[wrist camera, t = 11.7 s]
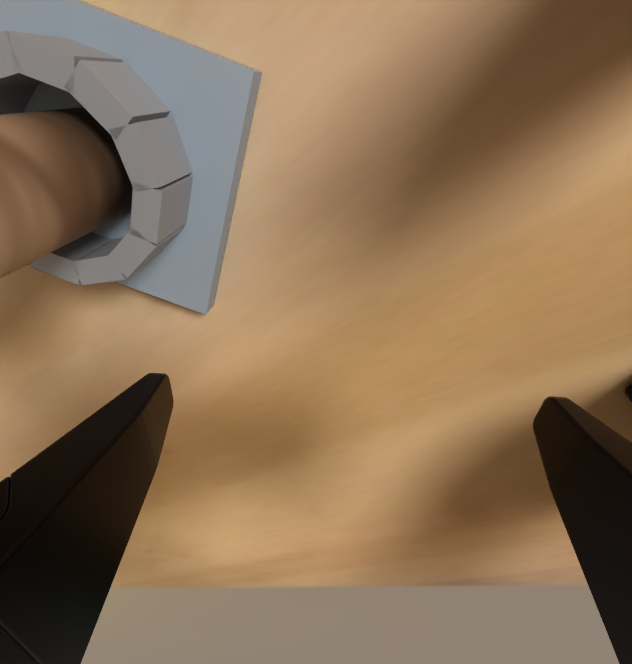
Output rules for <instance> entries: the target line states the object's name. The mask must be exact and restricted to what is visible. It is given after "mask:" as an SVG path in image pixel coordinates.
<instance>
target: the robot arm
mask: <svg viewBox="0 0 632 664" xmlns="http://www.w3.org/2000/svg"><path fill="white" fill-rule="evenodd" d="M625 394H626V396H627V397H628V398H629V400H630V401H631V402H632V385H630V386H628V387H627V388H626V390H625ZM172 409H173V395H172V390H171V385H170V380H169V377H168V375H166V374H162V373H149V374H147V375H146V376H144V377H143V378H141V379H140V380H139V381H137V382H136V383H135V384H133V385H132V386H131V387H129V388H128V389H126V390H125V391H124V392H122V393H121V394H120V395H118V396H117V397H116V398H114V399H113V400H111V401H110V402H109V403H107V404H106V405H105V406H103V407H102V408H101V409H99V410H98V411H96V412H95V413H94V414H92V415H91V416H90V417H88V418H87V419H86V420H84V421H83V422H81V423H80V424H79V425H77V426H76V427H75V428H73V429H72V430H71V431H69V432H68V433H66V434H65V435H64V436H62V437H61V438H60V439H58V440H57V441H56V442H54V443H53V444H52V445H50V446H49V447H47V448H46V449H45V450H43V451H42V452H41V453H39V454H38V455H37V456H35V457H34V458H32V459H31V460H30V461H28V462H27V463H26V464H24V465H23V466H22V467H20V468H19V469H17V470H16V471H15V472H13V473H12V474H11V476H10V477H6V478H5V479H4V480H2V481H1V482H0V664H81V661H82V658H83V656H84V654H85V651H86V648H87V646H88V643H89V641H90V638H91V636H92V633H93V630H94V628H95V625H96V623H97V620H98V617H99V615H100V613H101V610H102V607H103V605H104V602H105V600H106V597H107V595H108V592H109V590H110V587H111V584H112V582H113V579H114V577H115V574H116V572H117V569H118V567H119V564H120V561H121V559H122V556H123V554H124V551H125V549H126V546H127V543H128V541H129V538H130V536H131V533H132V531H133V528H134V526H135V523H136V520H137V518H138V515H139V513H140V510H141V508H142V505H143V503H144V500H145V497H146V495H147V492H148V490H149V487H150V485H151V482H152V479H153V477H154V474H155V471H156V469H157V466H158V462H159V459H160V455H161V451H162V447H163V443H164V440H165V436H166V432H167V428H168V424H169V420H170V417H171V413H172ZM533 430H534V434H535V437H536V441H537V444H538V448H539V451H540V455H541V459H542V462H543V466H544V469H545V473H546V477H547V480H548V483H549V486H550V489H551V492H552V495H553V497H554V500H555V503H556V505H557V508H558V510H559V513H560V515H561V518H562V520H563V523H564V525H565V528H566V530H567V533H568V535H569V538H570V540H571V543H572V545H573V548H574V550H575V553H576V555H577V558H578V560H579V563H580V565H581V568H582V570H583V573H584V575H585V578H586V580H587V583H588V585H589V588H590V590H591V593H592V595H593V598H594V600H595V603H596V605H597V608H598V610H599V613H600V615H601V618H602V621H603V623H604V625H605V628H606V631H607V633H608V636H609V638H610V640H611V643H612V645H613V648H614V651H615V653H616V656H617V658H618V661H619V663H620V664H632V443H631V442H630V441H628V440H627V439H625V438H624V437H623V436H621V435H620V434H618V433H617V432H615V431H614V430H612V429H611V428H610V427H608V426H607V425H605V424H604V423H602V422H601V421H599V420H598V419H597V418H595V417H594V416H592V415H591V414H589V413H588V412H587V411H585V410H584V409H582V408H581V407H579V406H578V405H576V404H575V403H574V402H572V401H571V400H569V399H567V398H564V397H548V398H546V399H545V400H544V402H543V404H542V406H541V408H540V409H539V411H538V413H537V415H536V417H535V418H534V422H533Z"/></svg>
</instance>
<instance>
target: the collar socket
mask: <svg viewBox="0 0 632 664" xmlns="http://www.w3.org/2000/svg"><path fill="white" fill-rule="evenodd" d="M261 74H262V72H260V71H258V70H255V69H252V68H250V67H247V66H245V65H242V64H240V63H237V62H235V61H232V60H230V59H227V58H224V57H222V56H219V55H217V54H214V53H212V52H209V51H207V50H204V49H202V48H199V47H196V46H194V45H191V44H189V43H186V42H184V41H181V40H179V39H176V38H174V37H171V36H169V35H166V34H163V33H161V32H158V31H156V30H153V29H151V28H148V27H146V26H143V25H141V24H138V23H135V22H133V21H130V20H128V19H125V18H123V17H120V16H118V15H115V14H113V13H110V12H107V11H105V10H102V9H100V8H97V7H95V6H92V5H90V4H87V3H85V2H82V1H79V0H0V115H2V114H13V113H24V112H34V111H45V110H56V109H67V108H82V107H83V108H85V109H86V110H87V111H88V112H89V113H90V114H91V115H92V116H93V117H94V118H95V119H96V120H97V121H98V122H99V123H100V124H101V125H102V126H103V127H104V128H105V129H106V130H107V131H108V133H109V134H110V135H111V136H112V138H113V140H114V143H115V145H116V148H117V150H118V152H119V155H120V157H121V160H122V162H123V164H124V167H125V169H126V171H127V174H128V176H129V179H130V181H131V183H132V186H133V193H132V209H131V212H129V213H127V214H125V215H123V216H121V217H120V218H118V219H116V220H114V221H112V222H110V223H108V224H106V225H104V226H102V227H100V228H98V229H96V230H94V231H92V232H90V233H88V234H86V235H84V236H82V237H80V238H78V239H76V240H74V241H72V242H70V243H68V244H66V245H64V246H62V247H60V248H59V249H57V250H55V251H53V252H51V253H49V254H47V255H45V256H43V257H41V258H39V259H37V260H35V261H33V262H31V263H29V264H31V268H33V269H36V270H39V271H41V272H44V273H47V274H50V275H52V276H55V277H58V278H61V279H63V280H66V281H69V282H72V283H74V284H77V285H79V284H82V285H90V284H97V283H104V282H111V281H114V282H117V283H120V284H123V285H125V286H128V287H131V288H134V289H136V290H139V291H142V292H145V293H147V294H150V295H153V296H156V297H158V298H161V299H164V300H167V301H169V302H172V303H175V304H178V305H180V306H183V307H186V308H189V309H191V310H194V311H197V312H200V313H202V314H205V315H206V314H207V313H208V311H209V310H210V309H211V307H212V306H213V305H214V301H215V296H216V291H217V286H218V281H219V277H220V272H221V267H222V262H223V257H224V253H225V248H226V243H227V238H228V233H229V229H230V224H231V219H232V214H233V209H234V204H235V200H236V195H237V190H238V185H239V180H240V176H241V171H242V166H243V161H244V156H245V151H246V147H247V142H248V137H249V132H250V127H251V123H252V118H253V113H254V108H255V103H256V98H257V94H258V89H259V84H260V79H261ZM29 264H27V265H29Z"/></svg>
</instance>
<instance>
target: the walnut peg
mask: <svg viewBox="0 0 632 664" xmlns="http://www.w3.org/2000/svg"><path fill="white" fill-rule="evenodd" d="M132 193H133V186H132V183H131V181H130V179H129V176H128V174H127V171H126V169H125V167H124V164H123V162H122V160H121V157H120V155H119V152H118V150H117V148H116V145H115V143H114V140H113V138H112V136H111V135H110V134H109V133H108V131H107V130H106V129H105V128H104V127H103V126H102V125H101V124H100V123H99V122H98V121H97V120H96V119H95V118H94V117H93V116H92V115H91V114H90V113H89V112H88V111H87V110H86V109H85V108H83V107H82V108H67V109H56V110H45V111H34V112H24V113H13V114H2V115H0V278H1V277H3V276H5V275H7V274H9V273H11V272H13V271H15V270H17V269H19V268H21V267H23V266H25V265H27V264H29V263H31V262H33V261H35V260H37V259H39V258H41V257H43V256H45V255H47V254H49V253H51V252H53V251H55V250H57V249H59V248H60V247H62V246H64V245H66V244H68V243H70V242H72V241H74V240H76V239H78V238H80V237H82V236H84V235H86V234H88V233H90V232H92V231H94V230H96V229H98V228H100V227H102V226H104V225H106V224H108V223H110V222H112V221H114V220H116V219H118V218H120V217H121V216H123V215H125V214H127V213H129V212H131V209H132Z"/></svg>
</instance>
